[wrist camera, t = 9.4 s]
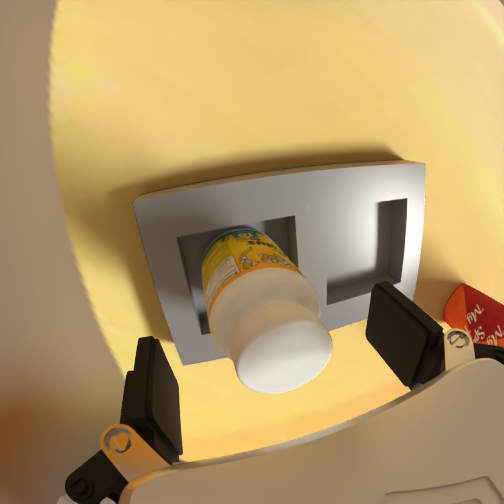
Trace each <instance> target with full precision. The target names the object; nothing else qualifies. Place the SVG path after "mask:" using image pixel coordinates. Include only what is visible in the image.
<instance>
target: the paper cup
mask: <svg viewBox="0 0 504 504" xmlns="http://www.w3.org/2000/svg"><path fill="white" fill-rule="evenodd" d="M443 317H444V320H445V321H446V323H447V324H448V325H449V326H450V327H451V328H452V329H454V328H457V329H462V330H464V331H466V332H467V333H468V334H469V335H470V336H471V338H472V341H473V343H480V344H487V345H495V346H501V347H503V348H504V305H503V304H501V303H499V302H497V301H496V300H494V299H492V298H491V297H489V296H487V295H485V294H484V293H482V292H480V291H478V290H476V289H475V288H473V287H471V286H469V285H466V284H463V285H461V286H459V287H458V288H457V289H456V290H455V291H454V292H453V294H452V295H451V297H450V298H449V300H448V302H447V304H446V306H445V309H444V314H443Z"/></svg>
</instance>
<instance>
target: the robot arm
mask: <svg viewBox="0 0 504 504" xmlns="http://www.w3.org/2000/svg"><path fill="white" fill-rule="evenodd" d="M442 331H443V328H442V327H441V326H440V325H439V324H438V323H437V322H435V321H434V320H433V319H432V318H431V317H430V316H429V315H427V314H426V313H425V312H424V311H423V310H422V309H421V308H419V307H418V306H417V305H416V304H415V303H413V302H412V301H411V300H410V299H409V298H408V297H406V296H405V295H404V294H403V293H402V292H400V291H399V290H398V289H397V288H396V287H394V286H393V285H392V284H391V283H389V282H388V281H383V282H380V283H376V284H375V285H374V288H372V290H371V297H370V305H369V313H368V320H367V326H366V338H367V340H368V341H369V342H370V344H371V345H372V346H373V347H374V349H375V350H376V351H377V352H378V353H379V355H380V356H381V357H382V358H383V360H384V361H385V362H386V363H387V365H388V366H389V367H390V368H391V369H392V371H393V372H394V373H395V374H396V376H397V377H398V378H399V379H400V381H401V382H402V383H403V385H404V386H408V387H409V388H410V390H411V391H410V392H408V393H406V394H405V395H403V396H401V397H399V398H397V399H395V400H393V401H391V402H389V403H387V404H385V405H383V406H380V407H378V408H376V409H374V410H372V411H369V412H367V413H365V414H363V415H360V416H358V417H356V418H353V419H351V420H348V421H346V422H343V423H341V424H338V425H335V426H333V427H330V428H327V429H325V430H322V431H319V432H316V433H313V434H310V435H307V436H304V437H301V438H297V439H294V440H291V441H287V442H284V443H280V444H276V445H273V446H269V447H265V448H261V449H256V450H252V451H247V452H243V453H238V454H233V455H228V456H223V457H217V458H211V459H205V460H199V461H193V462H187V463H181V464H177V465H173V464H172V463H173V462H179V455H182V454H183V448H182V436H181V422H180V405H179V387H178V383H177V380H176V378H175V376H174V374H173V371H172V369H171V367H170V365H169V362H168V360H167V358H166V356H165V353H164V351H163V349H162V346H161V344H160V341H159V339H154V337H153V336H148V337H142V338H139V339H138V345H137V351H136V357H135V364H134V370H133V371H128V372H127V375H126V380H125V387H124V394H123V401H122V409H121V418H120V424H116V425H112V426H110V427H108V428H107V429H106V430H105V431H104V432H103V434H102V435H101V439H100V445H101V448H102V449H101V450H100V451H99V452H97V453H96V454H95V455H94V456H93V457H92V458H90V459H89V460H88V461H86V462H85V463H84V464H83V465H82V466H80V467H79V468H78V469H76V470H75V471H74V472H73V473H71V474H70V476H68V478H67V480H66V482H65V490H66V495H65V496H64V497H63V496H61V497H60V499H59V500H58V502H57V503H56V504H504V348H503V347H501V346H495V345H487V344H480V343H473V341H472V338H471V336H470V335H469V334H468V333H467V332H466V331H464V330H462V329H457V328H454V329H450V330H448V331H447V332H446V333H445V334H444V333H443V332H442ZM421 384H422V385H421Z"/></svg>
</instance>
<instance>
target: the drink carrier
mask: <svg viewBox="0 0 504 504" xmlns="http://www.w3.org/2000/svg"><path fill="white" fill-rule="evenodd" d="M133 206H134V211H135V215H136V219H137V223H138V227H139V231H140V235H141V239H142V243H143V247H144V251H145V254H146V258H147V261H148V265H149V268H150V272H151V275H152V278H153V282H154V285H155V288H156V291H157V295H158V298H159V301H160V304H161V307H162V310H163V313H164V316H165V319H166V322H167V324H168V327H169V330H170V333H171V336H172V338H173V341H174V344H175V346H176V349H177V352H178V354H179V357H180V359H181V362H182V364H183V365H189V364H195V363H201V362H206V361H211V360H216V359H221V358H226V357H227V356H225V355H224V354H223V353H222V352H221V351H220V350H219V348H218V347H217V346H216V344H215V342H214V340H213V338H212V335H211V331H210V327H209V322H208V316H207V309H206V303H205V297H204V291H203V283H202V276H201V262H202V258H203V255H204V252H205V250H206V248H207V247H208V246H209V244H210V243H211V242H212V241H213V240H214V239H215V238H216V237H217V236H218V235H220V234H222V233H224V232H226V231H229V230H233V229H245V228H248V229H254V230H258V231H260V232H262V233H264V234H265V235H267V236H268V237H269V238H271V239H272V241H274V242H275V244H276V245H277V246H278V247H279V248H280V249H281V251H282V252H283V253H284V254H285V255H286V256H287V257H288V258H289V260H290V261H291V262H292V263H293V264H294V265H295V266H296V267H297V268H298V270H299V271H300V272H301V273H302V274H303V275H304V276H305V278H306V279H307V280H308V281H309V282H310V284H311V285H312V286H313V288H314V289H315V291H316V293H317V295H318V298H319V302H320V309H321V313H320V319H321V321H322V323H323V324H324V326H325V327H326V329H327V330H328V331H331V330H334V329H337V328H340V327H343V326H346V325H349V324H352V323H355V322H358V321H361V320H364V319H367V318H368V313H369V305H370V297H371V290H372V288H374V285H375V284H376V283H380V282H383V281H388V282H389V283H391V284H392V285H393V286H394V287H396V288H397V289H398V290H399V291H400V292H402V293H403V294H404V295H405V296H406V297H408V298H409V299H410V300H411V301H413V299H414V294H415V288H416V282H417V276H418V269H419V262H420V254H421V245H422V235H423V223H424V207H425V163H420V162H414V161H408V160H387V161H368V162H352V163H339V164H327V165H317V166H307V167H298V168H289V169H281V170H273V171H266V172H259V173H252V174H245V175H239V176H233V177H226V178H221V179H215V180H209V181H204V182H198V183H193V184H188V185H183V186H178V187H173V188H168V189H163V190H159V191H154V192H150V193H145V194H141V195H139V196H138V197H137V198H136V199H135V200H134V201H133Z"/></svg>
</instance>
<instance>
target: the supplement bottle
mask: <svg viewBox="0 0 504 504" xmlns="http://www.w3.org/2000/svg"><path fill="white" fill-rule="evenodd" d="M201 276H202V283H203V291H204V297H205V303H206V309H207V316H208V322H209V327H210V331H211V335H212V338H213V340H214V342H215V344H216V346H217V347H218V348H219V350H220V351H221V352H222V353H223V354H224V355H225V356H227V357H228V358H230V359H231V360H232V361H233V363H234V366H235V370H236V373H237V376H238V378H239V380H240V381H241V382H242V383H243V384H244V385H245V386H246V387H247V388H249V389H251V390H253V391H256V392H259V393H265V394H276V393H282V392H287V391H290V390H294V389H296V388H298V387H300V386H302V385H304V384H306V383H307V382H309V381H310V380H312V379H313V378H314V377H316V376H317V375H318V374H319V373H320V372H321V371H322V370H323V368H324V367H325V366H326V364H327V362H328V361H329V358H330V356H331V353H332V347H333V346H332V338H331V336H330V334H329V332H328V330H327V329H326V327H325V326H324V324H323V323H322V321H321V319H320V313H321V309H320V302H319V298H318V295H317V293H316V291H315V289H314V288H313V286H312V285H311V284H310V282H309V281H308V280H307V279H306V278H305V276H304V275H303V274H302V273H301V272H300V271H299V270H298V268H297V267H296V266H295V265H294V264H293V263H292V262H291V261H290V260H289V258H288V257H287V256H286V255H285V254H284V253H283V252H282V251H281V249H280V248H279V247H278V246H277V245H276V244H275V242H274V241H272V239H271V238H269V237H268V236H267V235H265V234H264V233H262V232H260V231H258V230H254V229H248V228H245V229H233V230H229V231H226V232H224V233H222V234H220V235H218V236H217V237H216V238H215V239H214V240H213V241H212V242H211V243H210V244H209V246H208V247H207V248H206V250H205V252H204V255H203V258H202V262H201Z"/></svg>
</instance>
